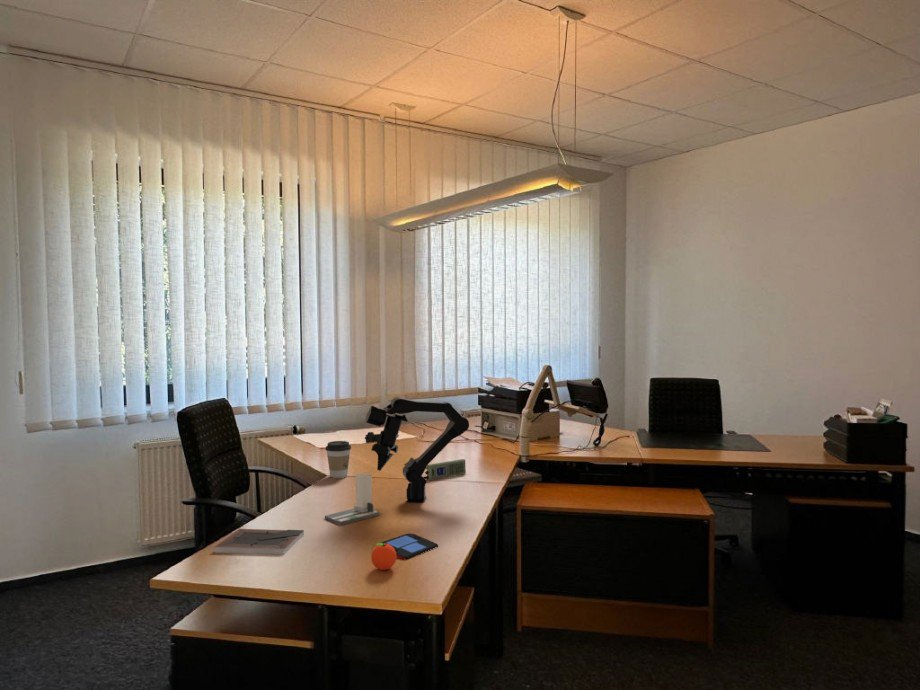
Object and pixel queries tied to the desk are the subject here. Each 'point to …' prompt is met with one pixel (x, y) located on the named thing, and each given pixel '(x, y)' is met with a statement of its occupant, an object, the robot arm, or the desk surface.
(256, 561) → the desk surface
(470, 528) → the desk surface
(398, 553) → the game console
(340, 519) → the board
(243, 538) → the picture frame
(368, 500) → the white tall block
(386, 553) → the clementine
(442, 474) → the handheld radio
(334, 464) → the coffee cup
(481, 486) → the desk surface
